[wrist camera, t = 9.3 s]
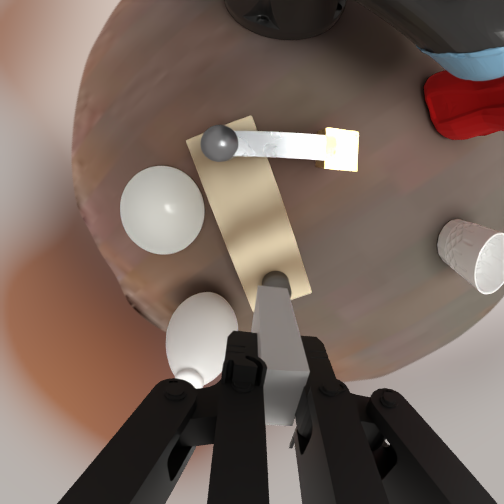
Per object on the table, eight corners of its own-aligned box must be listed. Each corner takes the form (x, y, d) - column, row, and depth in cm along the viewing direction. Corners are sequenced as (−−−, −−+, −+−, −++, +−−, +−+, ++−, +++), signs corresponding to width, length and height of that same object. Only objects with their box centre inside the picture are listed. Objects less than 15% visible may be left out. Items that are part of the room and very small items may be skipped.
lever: (208, 163, 28) (200, 164, 24) (208, 127, 27) (200, 123, 23) (344, 169, 28) (357, 171, 24) (345, 134, 27) (359, 131, 23)
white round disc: (110, 187, 34) (108, 187, 33) (185, 151, 33) (184, 151, 32) (142, 263, 37) (140, 265, 36) (218, 236, 36) (217, 237, 35)
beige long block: (195, 142, 32) (179, 138, 25) (252, 121, 31) (250, 111, 24) (253, 292, 38) (252, 323, 31) (305, 275, 37) (315, 303, 30)
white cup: (442, 276, 37) (480, 306, 27) (426, 234, 35) (468, 258, 26) (476, 247, 35) (517, 269, 26) (462, 204, 34) (507, 220, 24)
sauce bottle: (171, 292, 38) (121, 383, 21) (222, 269, 37) (196, 359, 20) (201, 337, 40) (173, 436, 23) (250, 317, 39) (246, 421, 22)
